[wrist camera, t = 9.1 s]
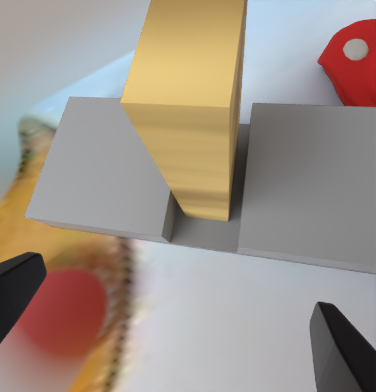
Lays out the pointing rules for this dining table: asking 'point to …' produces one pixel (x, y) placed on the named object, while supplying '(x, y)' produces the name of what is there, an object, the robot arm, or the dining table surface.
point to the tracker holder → (353, 63)
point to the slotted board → (241, 191)
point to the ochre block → (190, 98)
